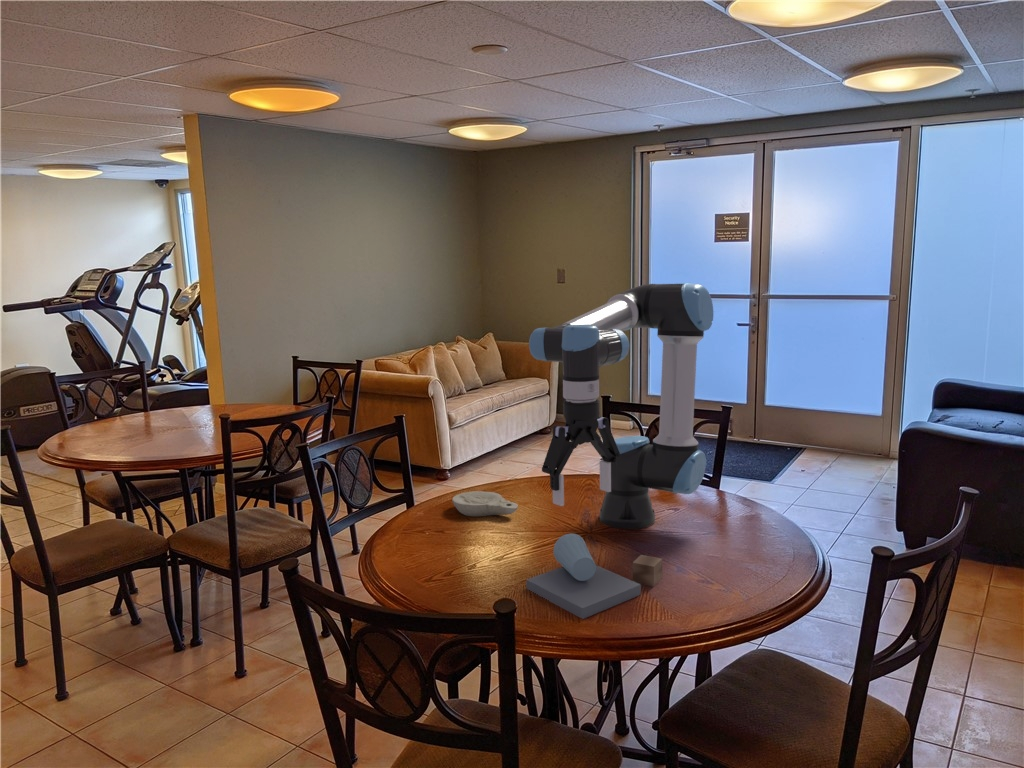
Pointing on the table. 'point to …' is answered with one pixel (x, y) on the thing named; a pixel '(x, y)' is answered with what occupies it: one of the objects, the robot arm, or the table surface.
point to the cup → (574, 556)
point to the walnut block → (647, 570)
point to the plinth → (584, 590)
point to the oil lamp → (483, 504)
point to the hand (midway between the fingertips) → (582, 497)
